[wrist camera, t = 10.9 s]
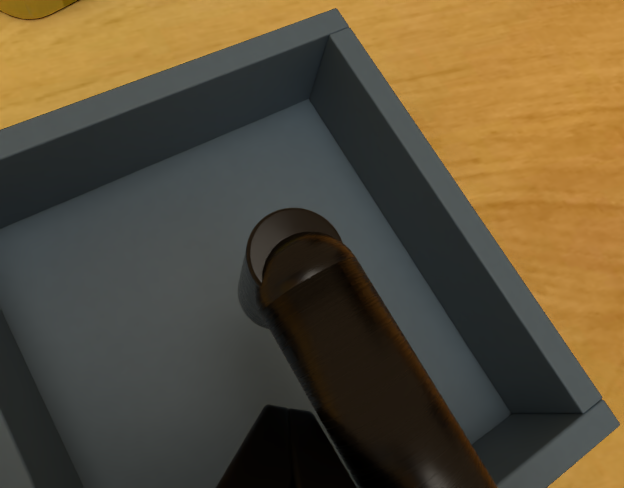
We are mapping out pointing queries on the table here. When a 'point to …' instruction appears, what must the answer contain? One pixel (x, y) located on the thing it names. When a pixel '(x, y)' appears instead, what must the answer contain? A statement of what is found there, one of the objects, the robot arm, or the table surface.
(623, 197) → the table surface
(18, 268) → the sink
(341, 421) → the spout
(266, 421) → the robot arm
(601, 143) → the table surface
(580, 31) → the table surface
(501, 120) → the table surface
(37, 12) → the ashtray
